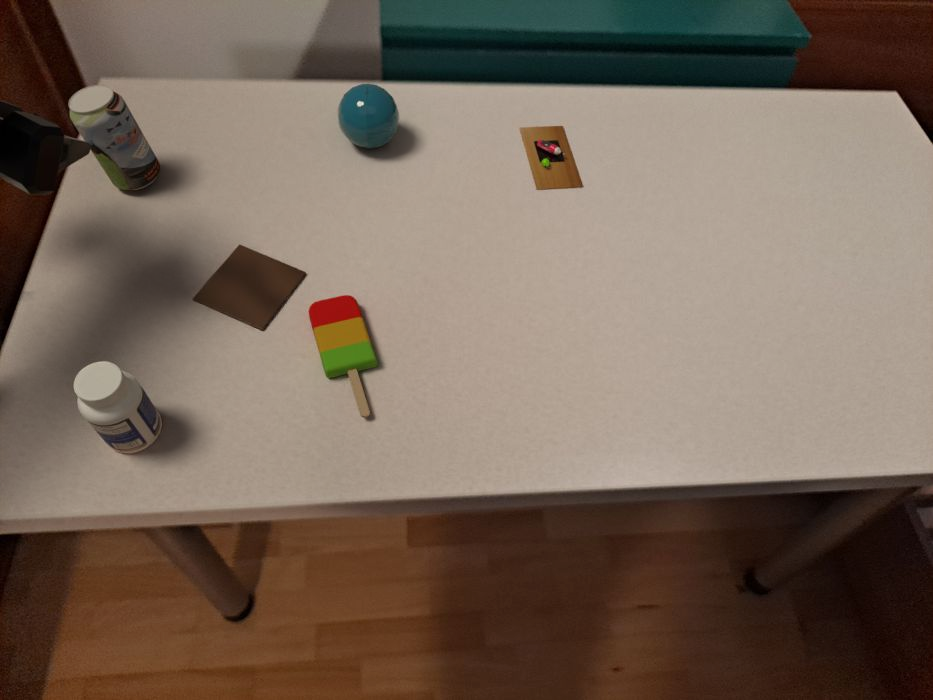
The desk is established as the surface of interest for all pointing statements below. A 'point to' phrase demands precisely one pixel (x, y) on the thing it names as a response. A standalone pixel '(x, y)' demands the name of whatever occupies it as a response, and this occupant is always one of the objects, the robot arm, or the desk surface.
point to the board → (550, 157)
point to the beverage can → (114, 137)
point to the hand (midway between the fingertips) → (54, 130)
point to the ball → (368, 116)
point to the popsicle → (343, 342)
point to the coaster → (250, 287)
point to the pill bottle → (117, 407)
